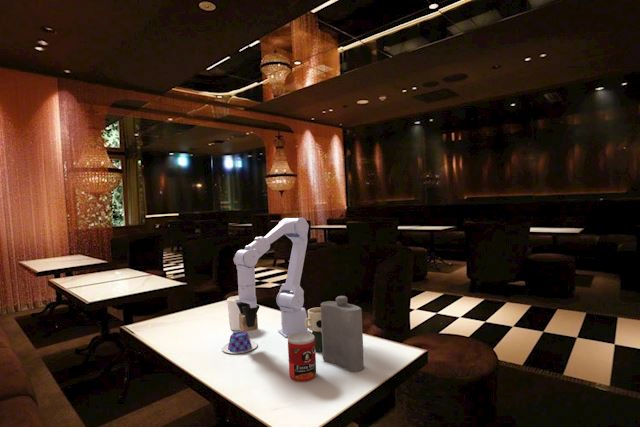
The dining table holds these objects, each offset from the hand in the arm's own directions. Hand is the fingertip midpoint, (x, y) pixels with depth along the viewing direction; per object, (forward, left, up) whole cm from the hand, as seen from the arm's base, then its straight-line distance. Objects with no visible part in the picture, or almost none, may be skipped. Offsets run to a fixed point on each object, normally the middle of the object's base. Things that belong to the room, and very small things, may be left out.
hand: (248, 324), depth 123 cm
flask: (-21, +27, -9) cm, 36 cm away
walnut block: (0, 0, -2) cm, 2 cm away
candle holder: (-3, -25, -9) cm, 27 cm away
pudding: (+2, -3, -9) cm, 10 cm away
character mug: (-20, +13, -9) cm, 26 cm away
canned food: (-7, +28, -9) cm, 30 cm away
